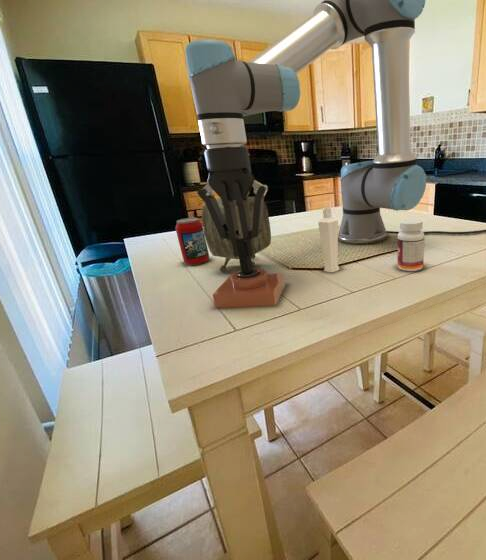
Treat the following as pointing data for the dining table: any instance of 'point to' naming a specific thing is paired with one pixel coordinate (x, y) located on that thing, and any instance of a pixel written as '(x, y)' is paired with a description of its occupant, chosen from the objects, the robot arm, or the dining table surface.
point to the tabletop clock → (225, 246)
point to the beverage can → (192, 241)
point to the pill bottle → (410, 245)
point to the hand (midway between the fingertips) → (247, 270)
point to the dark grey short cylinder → (248, 274)
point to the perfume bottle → (329, 240)
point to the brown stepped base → (250, 290)
